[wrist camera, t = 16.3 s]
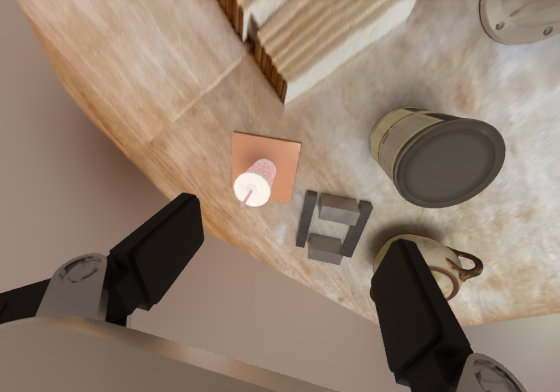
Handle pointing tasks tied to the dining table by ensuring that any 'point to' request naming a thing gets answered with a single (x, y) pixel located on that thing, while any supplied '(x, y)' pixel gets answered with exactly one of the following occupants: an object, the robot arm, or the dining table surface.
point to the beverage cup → (255, 183)
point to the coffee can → (436, 155)
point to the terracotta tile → (274, 150)
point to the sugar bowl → (438, 263)
